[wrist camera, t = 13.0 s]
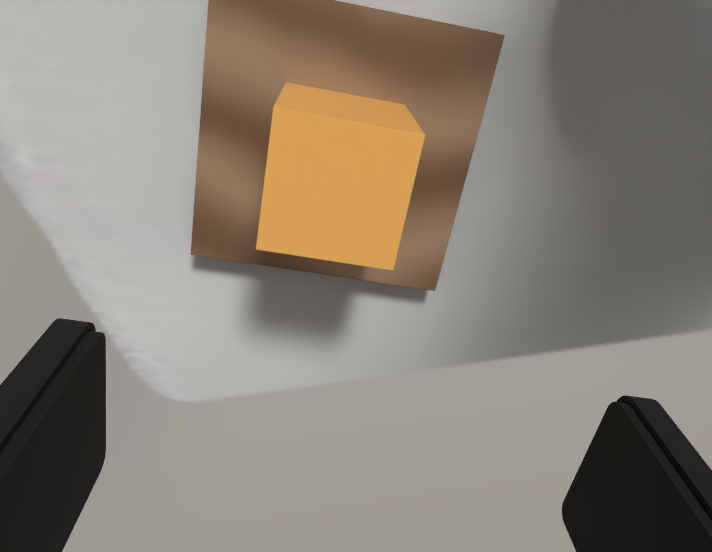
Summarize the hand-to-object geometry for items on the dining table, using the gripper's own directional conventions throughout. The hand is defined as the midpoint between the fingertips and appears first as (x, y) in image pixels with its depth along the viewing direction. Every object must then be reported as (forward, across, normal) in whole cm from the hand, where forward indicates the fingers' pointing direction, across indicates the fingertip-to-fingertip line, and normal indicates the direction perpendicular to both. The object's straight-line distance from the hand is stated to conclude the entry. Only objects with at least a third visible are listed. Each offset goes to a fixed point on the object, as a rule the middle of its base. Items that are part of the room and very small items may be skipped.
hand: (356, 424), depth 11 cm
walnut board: (+23, 0, 0) cm, 23 cm away
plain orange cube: (+22, 0, 0) cm, 22 cm away
